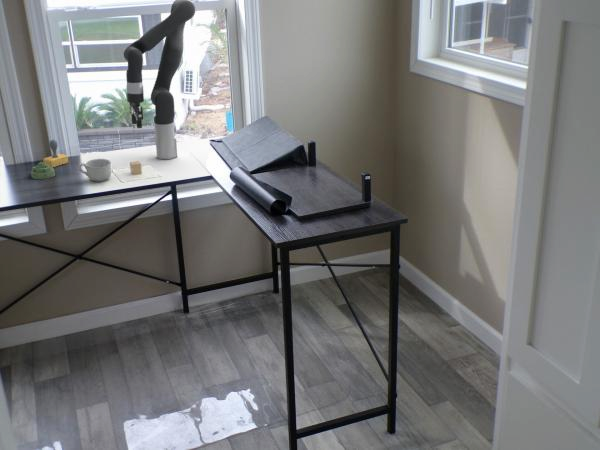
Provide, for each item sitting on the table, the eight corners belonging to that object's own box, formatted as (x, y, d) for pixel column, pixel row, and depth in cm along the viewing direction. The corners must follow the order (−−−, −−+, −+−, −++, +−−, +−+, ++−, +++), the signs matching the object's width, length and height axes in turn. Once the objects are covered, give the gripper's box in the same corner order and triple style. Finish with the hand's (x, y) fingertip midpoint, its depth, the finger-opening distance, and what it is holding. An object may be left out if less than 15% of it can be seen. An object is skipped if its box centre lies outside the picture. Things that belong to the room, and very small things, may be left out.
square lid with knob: (150, 166, 317) (149, 154, 315) (161, 177, 303) (160, 165, 300) (111, 172, 309) (110, 160, 307) (121, 183, 295) (120, 171, 293)
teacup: (115, 176, 302) (114, 159, 299) (107, 184, 292) (105, 166, 289) (86, 174, 303) (83, 157, 300) (76, 182, 294) (74, 165, 290)
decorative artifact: (33, 173, 306) (30, 180, 297) (30, 158, 303) (27, 165, 294) (56, 171, 308) (54, 178, 299) (54, 156, 305) (51, 163, 296)
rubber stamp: (60, 160, 322) (57, 136, 317) (68, 162, 320) (65, 138, 315) (43, 166, 314) (39, 141, 310) (52, 168, 312) (48, 143, 307)
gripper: (147, 94, 306) (149, 128, 312) (138, 88, 318) (140, 121, 324) (131, 95, 303) (133, 130, 309) (123, 89, 314) (125, 123, 320)
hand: (136, 125), depth 316 cm, fingers open, 8 cm apart
